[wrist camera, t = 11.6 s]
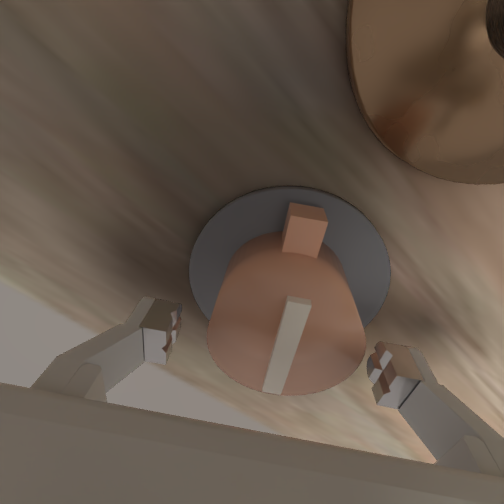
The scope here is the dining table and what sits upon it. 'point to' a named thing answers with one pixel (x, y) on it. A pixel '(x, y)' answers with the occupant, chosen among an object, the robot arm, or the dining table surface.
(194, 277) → the pad
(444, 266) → the dining table surface
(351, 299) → the cap
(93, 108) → the dining table surface
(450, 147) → the brown wide round part
